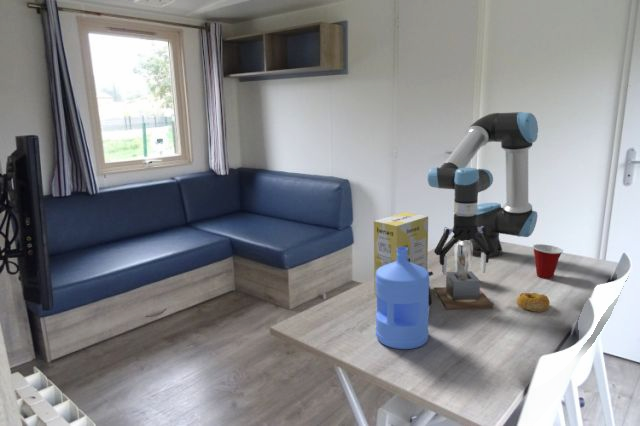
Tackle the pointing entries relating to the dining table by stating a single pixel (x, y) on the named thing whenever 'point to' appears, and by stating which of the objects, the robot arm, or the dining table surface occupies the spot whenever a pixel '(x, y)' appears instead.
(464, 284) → the collar
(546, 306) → the bagel
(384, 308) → the water jug
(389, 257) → the pasta box
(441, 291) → the post stand
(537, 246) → the plastic cup
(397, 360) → the dining table surface
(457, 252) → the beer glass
